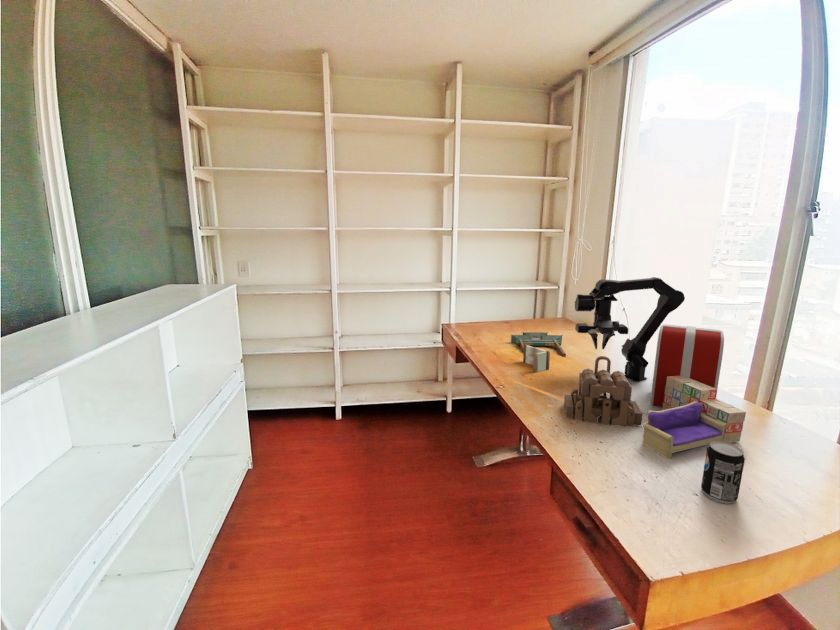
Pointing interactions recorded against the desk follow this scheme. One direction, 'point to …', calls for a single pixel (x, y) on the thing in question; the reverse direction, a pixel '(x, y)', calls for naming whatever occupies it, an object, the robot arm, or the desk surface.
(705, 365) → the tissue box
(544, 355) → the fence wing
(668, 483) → the desk surface
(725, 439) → the stack of blocks
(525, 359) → the fence section
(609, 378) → the wooden puzzle
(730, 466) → the beverage can
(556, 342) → the miniature gate
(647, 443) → the toy sofa
